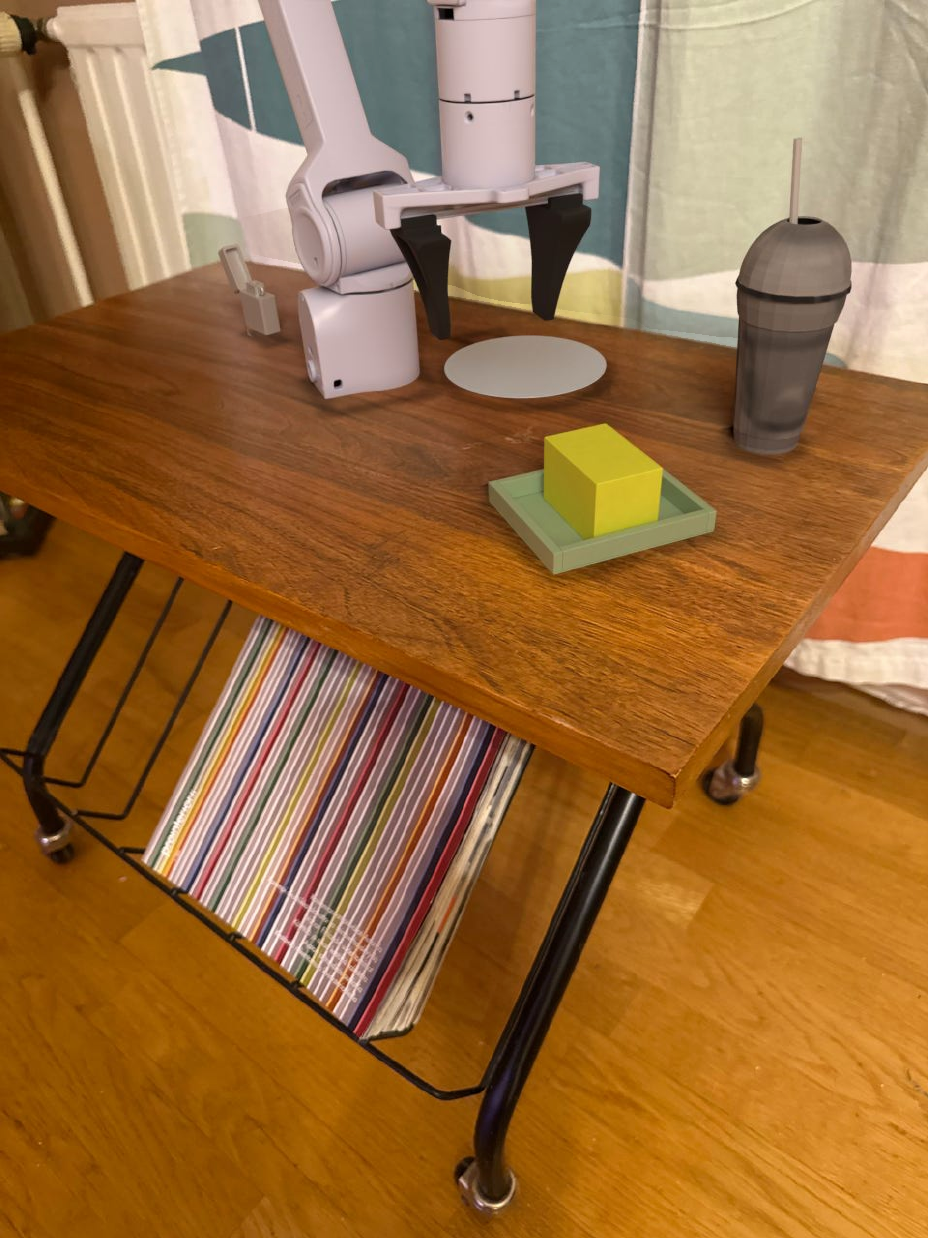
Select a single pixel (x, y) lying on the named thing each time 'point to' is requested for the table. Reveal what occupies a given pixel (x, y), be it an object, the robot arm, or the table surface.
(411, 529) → the table surface
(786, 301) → the beverage cup
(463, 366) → the plate
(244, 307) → the lighter
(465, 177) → the robot arm
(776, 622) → the table surface
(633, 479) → the sponge
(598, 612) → the table surface
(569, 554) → the sponge dish
